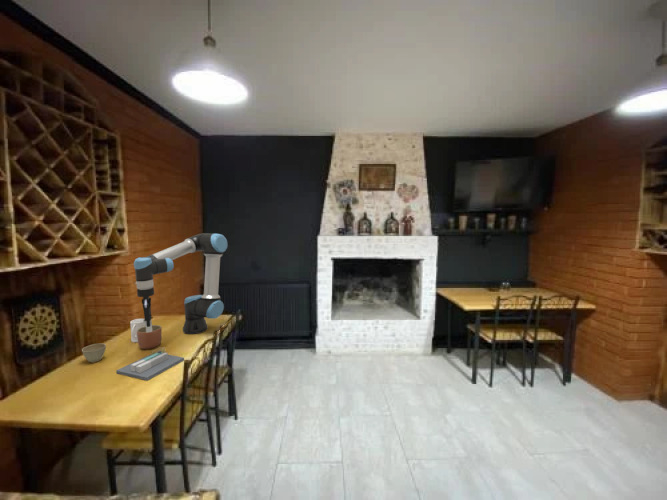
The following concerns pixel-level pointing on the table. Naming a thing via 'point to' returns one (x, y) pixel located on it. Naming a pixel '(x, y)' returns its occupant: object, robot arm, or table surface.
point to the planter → (149, 337)
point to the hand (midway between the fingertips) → (149, 331)
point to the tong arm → (133, 366)
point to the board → (152, 370)
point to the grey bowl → (94, 352)
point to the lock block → (158, 350)
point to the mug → (136, 328)
